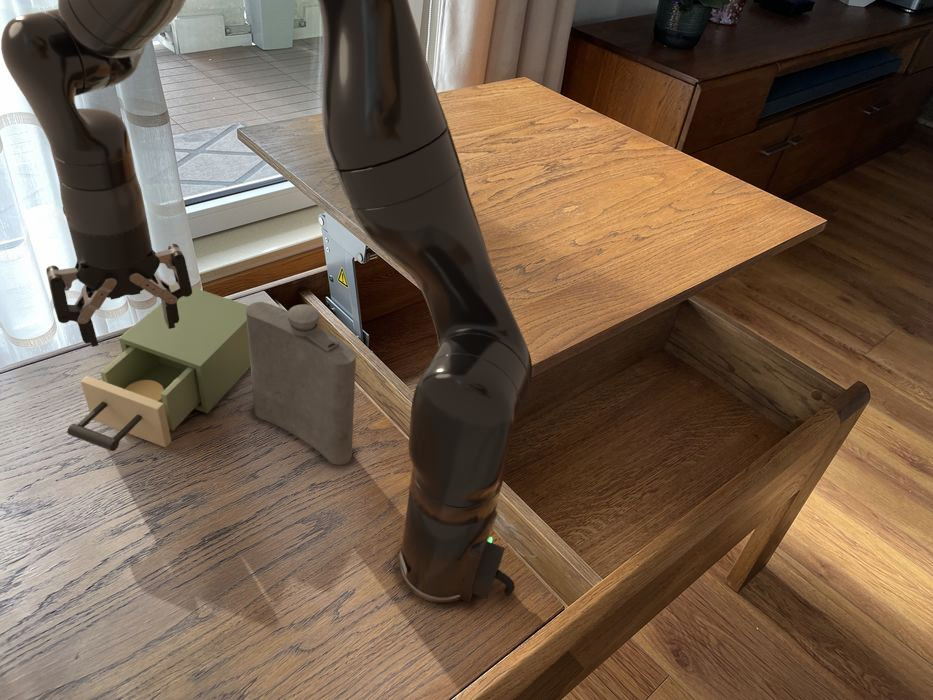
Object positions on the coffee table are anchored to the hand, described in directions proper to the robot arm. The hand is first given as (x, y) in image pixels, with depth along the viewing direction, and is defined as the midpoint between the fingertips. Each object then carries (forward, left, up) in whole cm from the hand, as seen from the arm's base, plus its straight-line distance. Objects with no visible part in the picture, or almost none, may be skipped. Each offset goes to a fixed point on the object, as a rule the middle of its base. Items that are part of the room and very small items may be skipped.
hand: (133, 333), depth 85 cm
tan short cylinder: (0, 0, -12) cm, 12 cm away
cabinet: (0, -10, -14) cm, 18 cm away
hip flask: (-19, -6, -14) cm, 25 cm away
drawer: (0, +1, -13) cm, 13 cm away
